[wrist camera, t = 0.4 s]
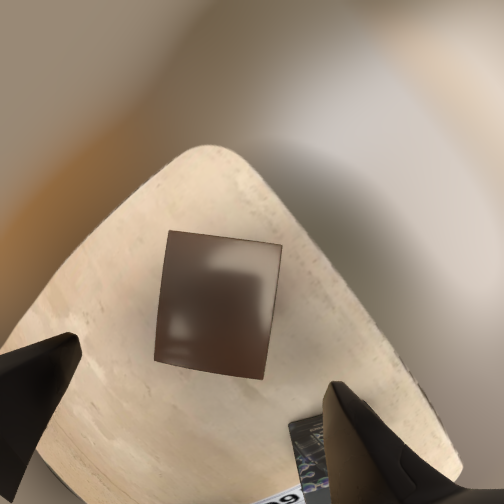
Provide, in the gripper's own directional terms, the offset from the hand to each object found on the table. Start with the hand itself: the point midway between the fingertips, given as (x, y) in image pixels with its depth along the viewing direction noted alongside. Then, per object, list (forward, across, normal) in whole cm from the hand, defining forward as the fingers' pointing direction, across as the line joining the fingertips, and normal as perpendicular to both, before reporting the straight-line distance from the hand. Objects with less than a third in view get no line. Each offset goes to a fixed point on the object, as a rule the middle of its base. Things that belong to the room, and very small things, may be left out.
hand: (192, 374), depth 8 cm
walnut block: (+15, 0, +4) cm, 15 cm away
